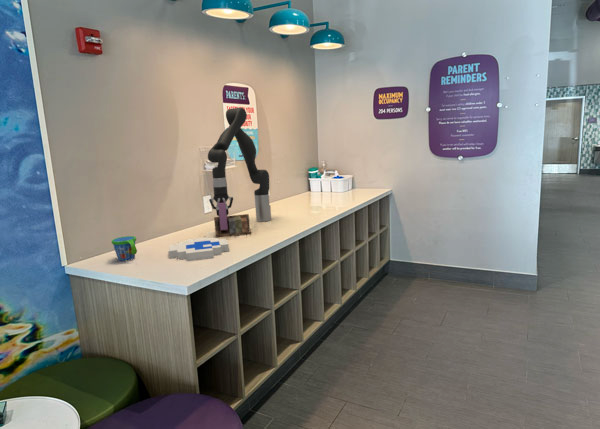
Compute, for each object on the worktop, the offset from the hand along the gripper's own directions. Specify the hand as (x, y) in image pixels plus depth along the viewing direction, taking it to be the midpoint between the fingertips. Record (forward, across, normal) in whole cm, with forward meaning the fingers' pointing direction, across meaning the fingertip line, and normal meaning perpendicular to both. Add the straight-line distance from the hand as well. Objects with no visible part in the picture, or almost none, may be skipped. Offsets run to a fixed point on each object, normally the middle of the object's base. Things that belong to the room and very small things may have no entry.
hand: (222, 215), depth 238 cm
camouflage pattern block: (+11, -5, -1) cm, 12 cm away
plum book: (+7, 0, 0) cm, 7 cm away
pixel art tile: (+12, +13, +32) cm, 36 cm away
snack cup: (+11, +47, +32) cm, 58 cm away
